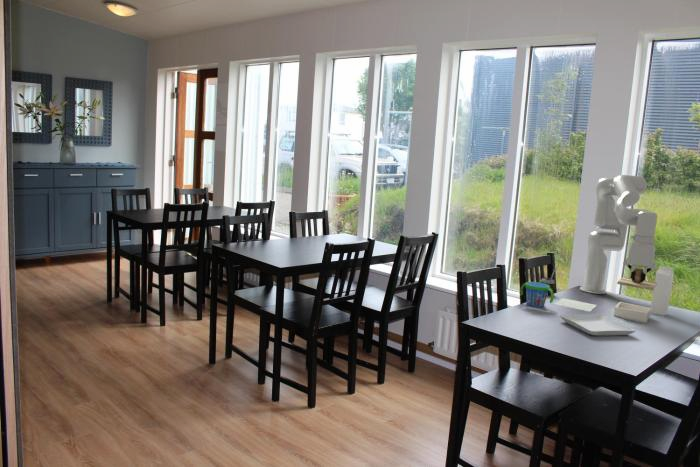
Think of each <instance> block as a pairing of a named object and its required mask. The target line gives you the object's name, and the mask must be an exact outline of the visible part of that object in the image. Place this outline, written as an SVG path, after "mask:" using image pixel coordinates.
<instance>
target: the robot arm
mask: <svg viewBox="0 0 700 467" xmlns="http://www.w3.org/2000/svg"><path fill="white" fill-rule="evenodd" d="M647 188H648V184H647V180H646V179H645V178H644V177H643V176H641V175H629V174H622V175H617V177H603V178H600V179H599V180H598V181H597V183H596V188H595V192H596V200H597V201H596V207H595V208H596V209H595V214H594V222H593V223H594V226H595V228H598V229H601V231H600V230H596V231H592V232H590V233H589V235H588V238H587V250H588V251H587V257H586V265H585V272H584V279H583V285H582V286H579V290H580V291H583V292H586V293H588V294H589V293H590V294H594V295H595V294H596V295H603V294H606V293H607V292H606V289H604V283H605V278H606V270H607V263H608V258H607V255H606V254H605V252H604V251H610V252H620V251H622V250H623V249H624V247H625V243H626V238H627V232H628V226H633V227H635V230H634V231H635V232H634V235H630V240H631V239H632V240H633V241H631V243H630V247H629V249H628V254H627V258H626V259H625V260H624V262H623V265H625V267H627V268H628V269H629V270H630V272H631V273H630V279H632V281H634V275H635V269H636V266H637V267H642V268H643V273H642V277H641V282H642V283H643V281H646V279H647V278H646V277H647V273H649V272H651V271H654V270H656V269H657V265H656V263H655V254H656V253H655V252H656V245H655V244H654V240H655V233H656V227H657V221H658V213H656V212H653V211H651V210H648V209H640V208H629V207H632V206H634V205H636V204H637V203H638V202H639V201H640V199H641V195H642V194H644V193H645V192H646V190H647ZM614 196H617V197H618V198H619V199H618V200H617V201H616V200H615V198H614ZM603 230H608V231H603ZM609 230H611V231H612V232H611V231H609ZM613 231H614V232H613Z"/></svg>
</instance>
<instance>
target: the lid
mask: <svg viewBox="0 0 700 467" xmlns="http://www.w3.org/2000/svg"><path fill="white" fill-rule="evenodd" d="M643 271H644V268H638V267H637V268H636V267H635V275H634V281H632V278H631V277H630V278H628V277H621V278H620V279H619V280H618V281H617V285H621V286H626V287H633V288H637V289H643V290H650V291H653V290H654V288H655V286H656V284H657V283H655V282H653V281H652V282H651V281H646V280H645V281H643V283H642V282H641V277H642V273H643Z"/></svg>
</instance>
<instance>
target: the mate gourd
mask: <svg viewBox="0 0 700 467" xmlns="http://www.w3.org/2000/svg"><path fill="white" fill-rule="evenodd" d="M559 266H560V265H559V264H558V265H557V266H555V268H554V269H553V270H552V271H553V272H552V274H551V277H550V278H549V277H548V278H547V277H542V278H541V280H540V282H539V283H544V284H547V285H549V286H550V288H551V289H552V291H553V293H554V291H555V289H556V288H555V286H556V282H555V279H553V277H554V274H555V272H556V271H557V268H559ZM547 295H550V296H551V292H550V291H549V290H548V293H547Z"/></svg>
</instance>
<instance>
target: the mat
mask: <svg viewBox="0 0 700 467" xmlns="http://www.w3.org/2000/svg"><path fill="white" fill-rule="evenodd" d="M553 305H556V306H561V307H565V308H571V309H575V310H580V311H585V312H592V311H593V310H594V309H595V308H596V307H597V304H593V303H589V302H585V301H584V302H583V301H579V300H574V299H569V298H564V297H561V298H560V299H558V300H557V301H555V303H553Z"/></svg>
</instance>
